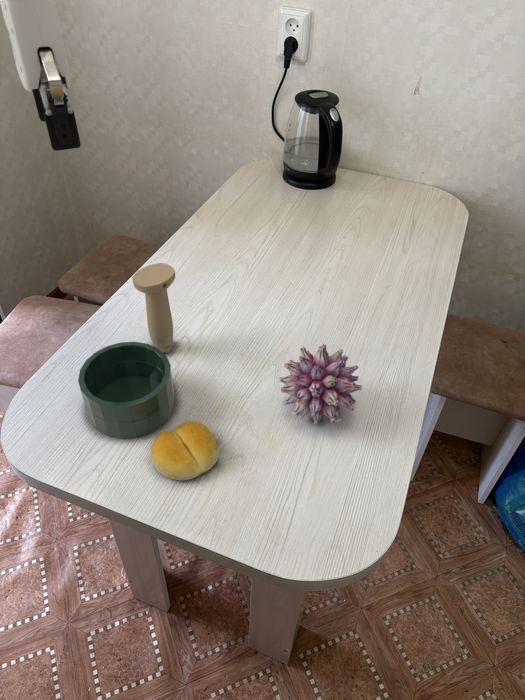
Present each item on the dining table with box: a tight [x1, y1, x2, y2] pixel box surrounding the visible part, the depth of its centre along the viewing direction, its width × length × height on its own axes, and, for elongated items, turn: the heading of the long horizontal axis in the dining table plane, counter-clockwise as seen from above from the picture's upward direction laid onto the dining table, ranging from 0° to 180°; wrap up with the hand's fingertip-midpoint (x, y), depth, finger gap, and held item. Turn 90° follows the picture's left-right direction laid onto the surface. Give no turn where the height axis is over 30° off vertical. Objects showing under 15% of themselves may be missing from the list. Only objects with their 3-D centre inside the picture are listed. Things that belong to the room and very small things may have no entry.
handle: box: [131, 262, 176, 354], centre depth 80 cm, size 5×6×15 cm
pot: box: [77, 341, 175, 439], centre depth 73 cm, size 13×13×7 cm
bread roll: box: [150, 420, 220, 481], centre depth 68 cm, size 8×9×4 cm
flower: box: [278, 343, 363, 427], centre depth 73 cm, size 12×12×12 cm
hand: (59, 133), depth 62 cm, fingers open, 9 cm apart
